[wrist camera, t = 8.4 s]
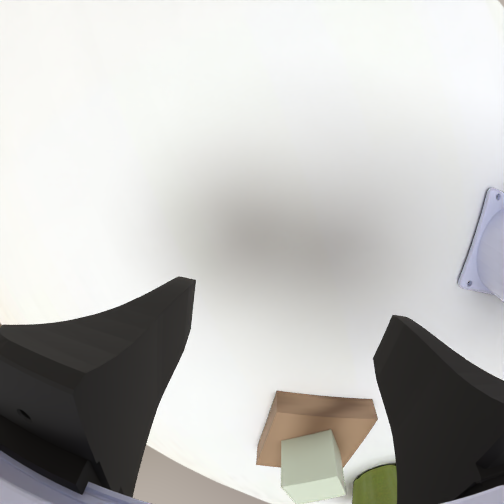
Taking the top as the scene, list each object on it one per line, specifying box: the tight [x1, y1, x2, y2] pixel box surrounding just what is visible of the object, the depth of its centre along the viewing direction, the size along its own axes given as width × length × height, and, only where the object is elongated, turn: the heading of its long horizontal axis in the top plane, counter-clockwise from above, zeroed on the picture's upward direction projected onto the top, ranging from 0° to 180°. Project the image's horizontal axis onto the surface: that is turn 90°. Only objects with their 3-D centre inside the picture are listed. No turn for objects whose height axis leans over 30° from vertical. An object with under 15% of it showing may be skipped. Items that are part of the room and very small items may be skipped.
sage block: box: [281, 429, 346, 504], centre depth 22 cm, size 4×4×5 cm
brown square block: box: [256, 391, 378, 467], centre depth 26 cm, size 9×9×3 cm
